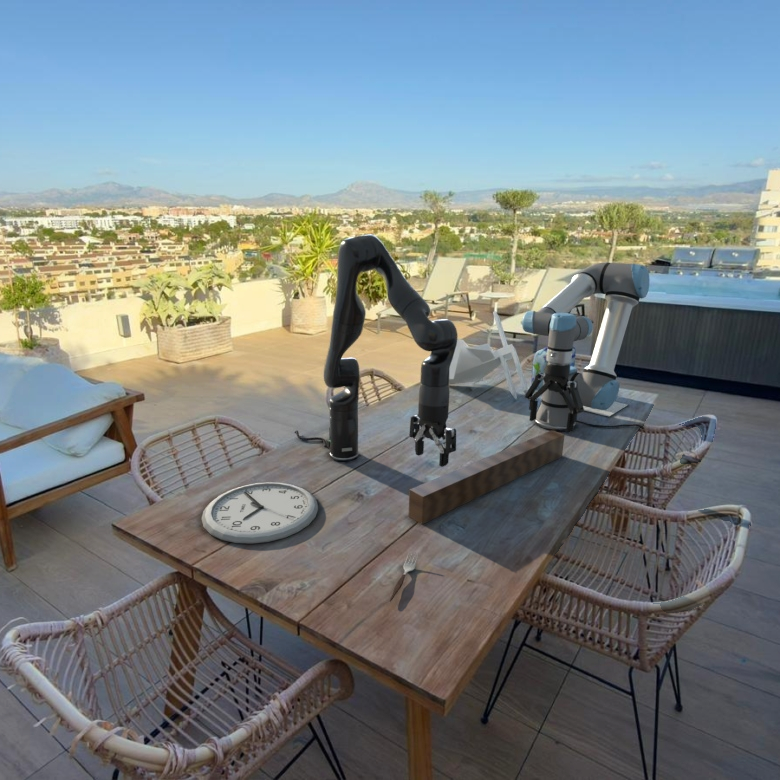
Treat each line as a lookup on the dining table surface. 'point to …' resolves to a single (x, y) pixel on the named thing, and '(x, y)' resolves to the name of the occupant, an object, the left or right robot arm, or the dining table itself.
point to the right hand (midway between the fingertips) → (550, 425)
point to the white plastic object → (484, 361)
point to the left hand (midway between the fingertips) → (431, 459)
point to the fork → (408, 568)
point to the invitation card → (608, 412)
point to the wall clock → (259, 513)
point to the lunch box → (540, 364)
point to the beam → (482, 476)
